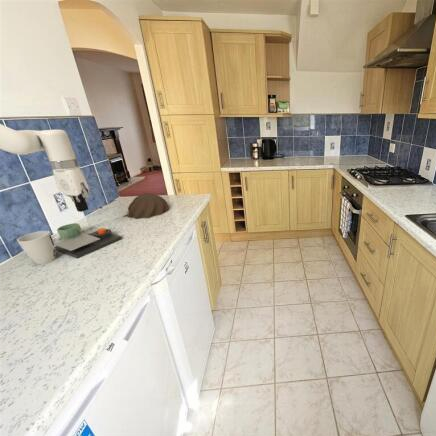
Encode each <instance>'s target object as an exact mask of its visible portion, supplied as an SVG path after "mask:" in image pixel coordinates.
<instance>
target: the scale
mask: <svg viewBox="0 0 436 436" xmlns="http://www.w3.org/2000/svg"><path fill="white" fill-rule="evenodd" d="M106 231H107V232H106V233H104V234H98V232H97V230H96V231H93V232H91V233H87V234H88V235H91V236H94V237H97V238H100V239H99V240H97V241H94V242H92V243H89V244H87V245H84V246H82V247H79V248H77V249H74V250H72V251H68V250H66V249H63V248H61V247H58V246H56V245H54V246H55V250H56V251H59V252H60V253H63V254H66V255H68V256H71V257H73V258H75V259H80V258H82V257H85V256H88V255H90V254H92V253H94V252H97V251H98V250H101V249H103V248H105V247H108V246H111V245H112V244H115V243H118V242H119V241H121V240H123V238H122V236H121V235H118V234H115V233H113V232H112V229H109V228H106Z"/></svg>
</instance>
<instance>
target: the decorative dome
mask: <svg viewBox="0 0 436 436" xmlns="http://www.w3.org/2000/svg"><path fill="white" fill-rule="evenodd" d="M169 210H170V207H169V204H168V202H167V200H166V199H164V198H163V197H162V196H160V195H158V194H155V193H151V192H150V193H149V192H147V193H142V194H140V195H137V196H136V197H134V198H133V199H132V201H131V202H130V204H129V205H128V206H127V211H128V218H133V219H134V220H138V219H150V218H152V217H156V216H161V215H163V214H164V213H166V212H168V211H169Z"/></svg>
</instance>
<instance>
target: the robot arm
mask: <svg viewBox="0 0 436 436" xmlns="http://www.w3.org/2000/svg"><path fill="white" fill-rule="evenodd" d="M0 150H2V151H4V152H7V153H11V154H14V155H18V156H19V155H20V156H25V155H26V156H27V155H30V154H33V153H38V152H43V151H45V153H46V156H47V159H48V161H49V163H50V166H51V168H52V172H53V178H54V181H55V184H56V186H57V190H58V191H59V194H61V195H63V196H66V197H69V198H70V199H71V201H72V202H73V203H74V207H75V209H76V211H77V212H81V213H83V212H85V211H88V210H89V205H88V204H87V198H88V197H90V195H89V192H90V188H89V185H88V182H87V179H86V178H85V175H84V173H83V171H82V170H81V168H80V165H79V162H78V159H77V156H76V154H75V152H74V149H73V146H72V143H71V141H70V138H69V136H68V133H67V131H65V130H64V129H43V130H33V129H19V130H18V129H17V130H15V129H13V128H10V127H8V126H6V125H4V124H3V123H2V124H1V123H0Z"/></svg>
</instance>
